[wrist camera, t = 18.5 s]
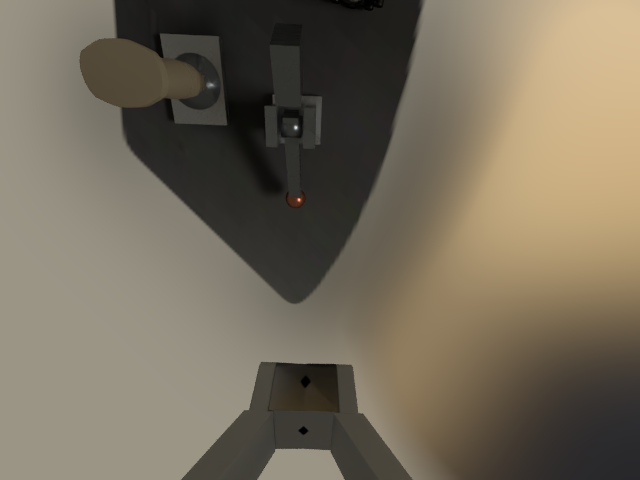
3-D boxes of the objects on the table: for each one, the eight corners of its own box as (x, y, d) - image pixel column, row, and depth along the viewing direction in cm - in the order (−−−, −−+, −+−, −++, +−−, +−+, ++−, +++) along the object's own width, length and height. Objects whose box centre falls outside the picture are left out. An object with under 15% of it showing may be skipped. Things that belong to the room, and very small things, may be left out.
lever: (273, 23, 26) (267, 44, 23) (304, 24, 26) (301, 46, 23) (287, 193, 44) (285, 216, 41) (306, 194, 44) (304, 216, 41)
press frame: (165, 35, 36) (106, 13, 26) (323, 43, 36) (324, 24, 26) (182, 137, 42) (138, 151, 32) (320, 142, 42) (319, 158, 32)
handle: (164, 59, 36) (70, 38, 22) (216, 58, 36) (153, 38, 22) (173, 102, 38) (92, 107, 25) (222, 102, 38) (168, 106, 25)
